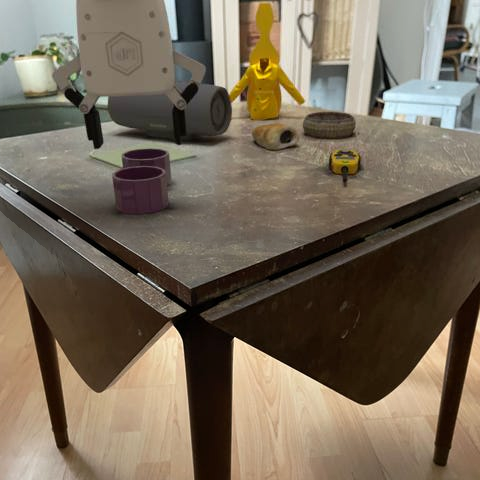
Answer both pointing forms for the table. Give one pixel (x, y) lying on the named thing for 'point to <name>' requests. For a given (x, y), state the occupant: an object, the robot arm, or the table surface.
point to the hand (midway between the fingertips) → (138, 144)
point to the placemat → (115, 155)
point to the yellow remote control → (344, 162)
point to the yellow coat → (264, 73)
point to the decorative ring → (329, 125)
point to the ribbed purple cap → (148, 159)
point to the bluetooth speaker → (160, 112)
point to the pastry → (275, 136)
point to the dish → (140, 189)
